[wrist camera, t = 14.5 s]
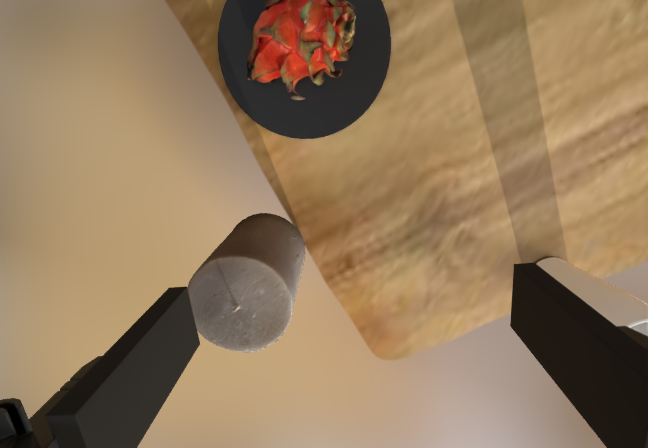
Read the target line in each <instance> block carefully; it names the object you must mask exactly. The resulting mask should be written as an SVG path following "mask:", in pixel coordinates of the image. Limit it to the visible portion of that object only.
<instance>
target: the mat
mask: <svg viewBox="0 0 648 448" xmlns="http://www.w3.org/2000/svg"><path fill="white" fill-rule="evenodd" d="M267 1H268V0H227V1H226V4H225V6H224V9H223V12H222V16H221V20H220V25H219V32H218V52H219V61H220V65H221V70H222V73H223V76H224V79H225V82H226V84H227V86H228V88H229V90H230V92H231V94H232V96H233V97H234V99H235V100H236V102H237V103H238V104H239V106H240V107H241V108H242V109H243V110H244V112H245V113H246V114H247V115H249V116H250V117H251V118H252V119H253V120H254V121H256V122H257V123H258V124H260V125H261V126H263V127H264V128H266V129H268V130H270V131H272V132H274V133H277V134H280V135H283V136H287V137H291V138H299V139H313V138H319V137H324V136H327V135H331V134H334V133H336V132H338V131H340V130H342V129H344V128H346V127H347V126H349V125H351V124H352V123H353V122H355V121H356V120H357V119H358V118H359V117H361V116H362V115H363V114H364V112H365V111H366V110H367V109H368V108H369V107H370V106H371V104H372V103H373V101H374V100H375V99H376V97H377V95H378V93H379V91H380V90H381V88H382V85H383V83H384V80H385V78H386V74H387V70H388V67H389V61H390V54H391V36H390V27H389V23H388V18H387V14H386V11H385V9H384V6H383V3H382V1H381V0H338V2H341V1H348V2H349V3H350V4H352V5H353V6H354V7H355V10H356V11H357V12H356V11H355V10H354V13H355V14H354V15H355V16H356V19H355V27H356V30H355V34H354V36H353V37H352V38H353V49H352V51H351V52H350V53H349V54H348V55H349V59H348V60H347V61H336V60H334V62H333V66H334V67H335V70H337V71H340V69H342V73H341V75H340V76H339V78H334V77H331V76H329V75H328V74H327V73H326V72H325V71H324V72H323V77H324V82H323V83H322V84H321V85H317V84H315V83H314V82H312V80H311V78H310V77H309V76H306V77H303V78H302V79H300V80H298V81H297V83H296V85H295V87H294V88H295V92H296V93H298V94H299V95H300V96H302V97H304V98H306V99H304V100H294V99H291V96H294V95H295V94H294V93H293V92H292V91H291V92H289V93H288V92H287V87H286V83H284V82H283V79H282V78H277V79H276V81H275V82H274V83H269V82H267V83H262V82H259V81H257V80H255V81H254V83H255V84H254V83H253V82H252V80H251V81H250V80H248V79H247V73H248V71H247V60H248V57H249V54H250V52H251V50H252V47H253V38H252V36H253V30H254V26H255V24H256V22H257V20H258V19H259V17H260V14H261V13H262V12H264V11H266V8H265V4H266V2H267ZM356 8H357V9H356ZM354 15H353V16H354ZM253 68H254V67H253ZM253 68H252V70H253ZM252 70H251V75H252ZM257 91H258V92H257Z"/></svg>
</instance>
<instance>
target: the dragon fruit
mask: <svg viewBox="0 0 648 448" xmlns="http://www.w3.org/2000/svg"><path fill="white" fill-rule="evenodd" d="M265 8H266V11H264V12H262V13H261V14H260V17H259V19H258V20H257V22H256V24H255V26H254V30H253V36H252V38H253V47H252V50H251V52H250V54H249V57H248V60H247V71H248V73H247V79H248V80H250V81H251V80H252V82H253V83H254V81H255V80H257V81H259V82H262V83H267V82H269V83H274V82H275V81H276V79H277V78H282V79H283V82H284V83H286V87H287V92H288V93H289V92H291V91H292V92H293V93H294V94H295V95H294V96H291V99H294V100H304V99H306V98H304V97H302V96H300V95H299V94H298V93H296V92H295V88H294V87H295V85H296V83H297V81H298V80H300V79H302V78H303V77H306V76H309V77H310V78H311V80H312V82H314V83H315V84H317V85H321V84H322V83H323V82H324V77H323V72H324V71H325V72H326V73H327V74H328V75H329V76H331V77H334V78H339V76H340V75H341V73H342V69H340V71H337V70H335V67H334V66H333V62H334V60H336V61H347V60H348V59H349V55H348V54H349V53H350V52H351V51H352V49H353V38H352V37H353V36H354V34H355V30H356V27H355V19H356V16H355V15H354V14H355V13H354V10H355V7H354V6H353V5H352V4H350V3H349V2H348V1H341V2H338V0H268V1H267V2H266V4H265ZM356 9H357V8H356ZM355 11H356V10H355ZM356 12H357V11H356ZM353 15H354V16H353ZM253 67H254V68H253ZM252 68H253V70H252ZM251 70H252V75H251ZM254 84H255V83H254ZM257 92H258V91H257Z"/></svg>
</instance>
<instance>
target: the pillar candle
mask: <svg viewBox="0 0 648 448" xmlns="http://www.w3.org/2000/svg"><path fill="white" fill-rule="evenodd" d="M304 260H305V244H304V241H303V238H302V236H301V234H300V233H299V231H298V230H297V228H296V227H295V226H294V225H293V224H291V223H290V222H289V221H287V220H286V219H284V218H282V217H280V216H277V215H273V214H267V213H260V214H256V215H252V216H249V217H247V218H246V219H244V220H242V221H241V222H240V223H239V224H238V225H237V226H236V227H235V228H234V230H233V231H232V232H231V233H230V234H229V236H227V238H226V239H225V240H224V241H223V242H222V243H221V244H220V245H219V246H218V247H217V249H215V251H214V252H213V253H212V254H211V255H210V256H209V257H208V258H207V260H206V261H205V262H204V263H203V264H202V265H201V266H200V268H199V269H198V270H197V271H196V272H195V274H194V275H193V277H192V278H191V280H190V282H189V285H188V288H187V289H188V293H189V297H190V302H191V306H192V311H193V315H194V320H195V324H196V328H197V331H198V332H199V333H200V334H201V335H202V336H203V337H204V338H205V339H207V340H208V341H210V342H212V343H213V344H216V345H217V346H220V347H222V348H225V349H228V350H233V351H241V352H245V353H249V352H251V351H259V350H262V349H263V348H266V347H267V346H268V345H270V344H272V343H273V342H276V341H277V340H278V338H279V337H280V336H282V335H283V334H284V333H285V330H286V328H287V327H288V325H289V323H290V321H291V316H292V311H293V306H294V302H295V297H296V293H297V289H298V285H299V281H300V277H301V273H302V269H303V265H304Z"/></svg>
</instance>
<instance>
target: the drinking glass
mask: <svg viewBox="0 0 648 448" xmlns="http://www.w3.org/2000/svg"><path fill="white" fill-rule="evenodd" d="M536 264H537V265H538V266H539V267H541V268H542V269H543V270H544V271H546V272H547V273H548V274H550V275H551V276H552V277H554V278H555V279H556V280H557V281H559V282H560V283H561V284H563V285H564V286H565V287H566V288H568V289H569V290H570V291H572V292H573V293H574V294H575V295H577V296H578V297H579V298H581V299H582V300H583V301H584V302H586V303H587V304H588V305H590V306H591V307H592V308H593V309H595V310H596V311H597V312H599V313H600V314H601V315H602V316H604V317H605V318H606V319H608V320H609V321H610V322H611V323H613V324H614V325H615V326H627V327H629V328H631V329H633V330H636V331H638V332H640V333H642V334H644V335H646V336H648V304H646V303H645V302H643V301H641V300H639V299H638V298H636V297H634V296H632V295H630V294H629V293H626V292H625V291H622V290H621V289H619V288H617V287H615V286H613V285H611V284H609V283H606V282H605V281H603V280H601V279H599V278H597V277H595V276H593V275H591V274H589V273H587V272H585V271H583V270H581V269H579V268H577V267H576V266H574V265H572V264H571V263H569V262H568V261H566V260H564V259H561V258H556V257H551V258H546V259H543V260H541V261H539V262H537V263H536Z"/></svg>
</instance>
